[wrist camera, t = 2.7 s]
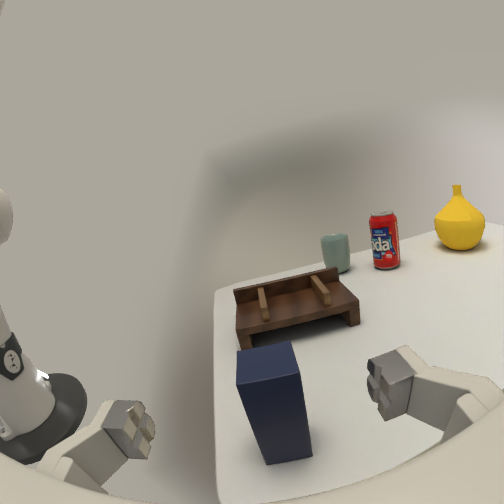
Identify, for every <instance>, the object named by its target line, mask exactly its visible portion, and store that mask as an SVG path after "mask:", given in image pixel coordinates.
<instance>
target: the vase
mask: <svg viewBox="0 0 504 504" xmlns="http://www.w3.org/2000/svg"><path fill="white" fill-rule="evenodd" d="M452 187H453V197H452V199H451V200H450V201H449V203H448V204H447V205H446V206H445V207H444V208H443V209H442V210H441V211H440V212H439V213H438V214H437V215H436V216H435V220H434V223H435V230H436V232H437V234H438V237H439V238H440V240H441V241H442V242H443V244H444V245H446V246H447V247H448V248H450V249H454V250H468V249H471V248H473V247H474V246H475V245H476V244H477V243H478V242H479V241H480V239H481V238H482V235H483V231H484V228H485V219H484V216H483V214H482V213H481V212H479V211H478V210H477V209H476V208H475V207H474V206H472V205H471V204H470V203H469V202H468V201H467V200H466V199H465V198H464V197H463V196H462V192H461V185H453V186H452Z"/></svg>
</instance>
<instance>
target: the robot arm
mask: <svg viewBox="0 0 504 504" xmlns="http://www.w3.org/2000/svg"><path fill="white" fill-rule="evenodd" d="M4 3H5V0H0V14H1V12H2V9H3V6H4ZM12 223H13V212H12V206H11V203H10V200H9V198H8V196H7V195H6V193H5V192H4V191H3V189H1V188H0V245H1V244H3V243H4V242H5V241H7V240H8V238H9V235H10V232H11V229H12ZM367 369H368V371H369V372H370V374H369V376H368V377H367V387H368V392H369V394H370V397H371V399H372V400H373V401H374V402H376V403H378V411H379V412H380V414H381V416H382V418H383V419H384V421H388V420H390V419H393V418H395V417H398V416H400V415H402V414H405V413H407V414H408V415H410V416H412V417H414V418H416V419H418V420H420V421H423V422H425V423H427V424H429V425H431V426H433V427H435V428H438V429H440V430H442V431H444V435H443V437H442V439H441V441H440V444H439V446H437V447H435V448H433V449H432V450H430V451H428V452H426V453H424V454H422V455H420V456H418V457H417V458H414V459H412V460H410V461H408V462H406V463H404V464H402V465H400V466H397V467H395V468H393V469H391V470H388V471H386V472H383V473H381V474H378V475H376V476H373V477H370V478H368V479H365V480H362V481H359V482H356V483H353V484H350V485H347V486H344V487H340V488H337V489H333V490H330V491H326V492H322V493H318V494H314V495H309V496H305V497H300V498H294V499H289V500H283V501H276V502H269V503H261V504H504V392H503V391H502V390H501V389H500V388H499V387H498V386H496V385H495V384H494V383H493V382H492V381H491V380H490V379H489V378H487V377H482V376H476V375H471V374H467V373H462V372H457V371H453V370H448V369H444V368H439V367H435V366H433V367H431V368H430V367H429V366H428V365H427V364H426V363H425V362H424V361H423V360H422V359H421V358H420V357H419V356H418V355H417V354H416V353H415V352H414V351H413V350H412V349H411V348H410V347H409V346H408V345H404V346H402V347H399V348H397V349H395V350H393V351H390V352H388V353H385V354H382V355H380V356H377V357H374V358H372V359H369V360H368V363H367ZM41 375H42V376H44V377H46V378H49V377H48V375H47V374H45V373H42V372H40V371H38V370H37V369H36V367H35V366H34V364H33V362H32V361H31V359H30V358H29V356H27V355H25V354H22V349H21V347H20V345H19V342H18V340H17V338H16V337H15V335H14V333H13V332H11V331H10V329H9V326H8V324H7V322H6V319H5V317H4V314H3V312H2V309H1V307H0V437H1V438H2V439H3V440H4V441H9V440H11V439H13V438H14V437H16V436H18V435H21V434H25V433H28V432H30V431H32V430H34V429H35V428H37V427H38V426H40V425H41V424H42V423H43V422H44V421H45V420H46V419H47V418H48V417H49V415H50V414H51V412H52V410H53V408H54V405H55V396H54V395H53V393H52V391H51V390H52V385H51V384H50V382H49V381H44V379H43V378H42V376H41ZM144 411H145V407H144V405H143V404H142V402H140V401H125V400H117V401H116V400H106V401H104V402H103V404H102V405H101V407H100V409H99V411H98V412H97V414H96V416H95V418H94V419H93V421H92V423H91V424H90V426H86V427H84V428H83V429H81V430H80V431H78V432H76V433H75V434H73V435H71V436H70V437H68V438H67V439H65V440H63V441H62V442H60V443H58V444H57V445H55V446H53V447H52V448H50V449H48V450H47V451H46V453H45V454H44V456H43V458H42V459H41V461H40V463H39V464H38V466H37V468H36V470H34V469H32V468H30V467H27V466H26V465H23V464H21V463H19V462H17V461H15V460H14V459H12V458H10V457H8V456H6V455H4V454H3V453H1V452H0V504H159V503H151V502H144V501H138V500H132V499H126V498H121V497H116V496H112V495H109V494H108V492H106V491H105V490H104V489H103V488H102V487H101V485H102V484H104V483H105V481H107V480H108V479H109V478H110V477H111V476H112V475H113V474H114V473H115V472H116V471H117V470H118V469H119V468H120V467H121V466H122V465H123V464H124V463H125V462H126V461H127V460H128V458H131V459H148V455H149V452H150V449H151V446H150V444H149V442H150V441H151V440H152V439H154V436H155V425H154V422H153V420H152V418H151V416H149V415H148V414H146V413H145V412H144Z"/></svg>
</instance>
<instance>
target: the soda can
mask: <svg viewBox="0 0 504 504" xmlns="http://www.w3.org/2000/svg"><path fill="white" fill-rule="evenodd" d="M369 225H370V233H371V241H372V251H373V261H374V265H375V266H376V267H377V268H380V269H392V268H395V267H396V266H398V265H399V264H400V248H399V236H398V226H397V218H396V216H395V215H394V214H393V211H379V212H374V213H371V217H370V220H369Z"/></svg>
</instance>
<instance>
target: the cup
mask: <svg viewBox="0 0 504 504" xmlns="http://www.w3.org/2000/svg"><path fill="white" fill-rule="evenodd" d="M321 247H322V252H323V258H324V263H325V266H326V268H330V267H334V266H336V267H338V273H342V272H344V271H346V270H347V269H348V268H349V265H350V250H349V242H348V236H347V234H343V233H341V234H331V235H327V236H324V237H322V238H321Z"/></svg>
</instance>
